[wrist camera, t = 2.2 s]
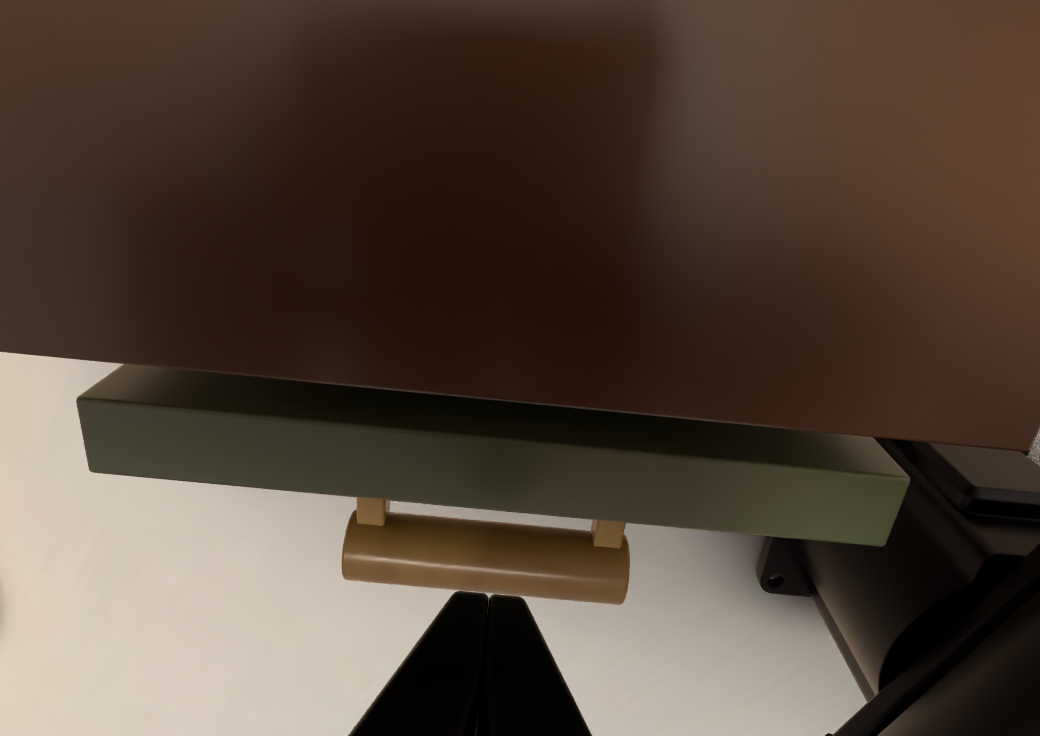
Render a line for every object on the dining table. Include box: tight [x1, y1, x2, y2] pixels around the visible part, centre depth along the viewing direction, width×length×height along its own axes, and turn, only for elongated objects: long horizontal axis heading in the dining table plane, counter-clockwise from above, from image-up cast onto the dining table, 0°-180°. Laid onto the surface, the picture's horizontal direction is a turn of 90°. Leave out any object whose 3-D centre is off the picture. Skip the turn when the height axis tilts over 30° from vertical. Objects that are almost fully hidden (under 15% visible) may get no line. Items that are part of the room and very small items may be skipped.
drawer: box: [76, 364, 910, 605], centre depth 12 cm, size 18×11×9 cm, turn 174°
